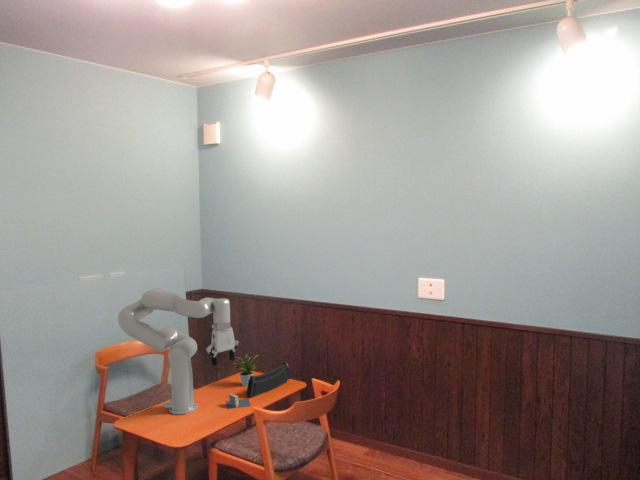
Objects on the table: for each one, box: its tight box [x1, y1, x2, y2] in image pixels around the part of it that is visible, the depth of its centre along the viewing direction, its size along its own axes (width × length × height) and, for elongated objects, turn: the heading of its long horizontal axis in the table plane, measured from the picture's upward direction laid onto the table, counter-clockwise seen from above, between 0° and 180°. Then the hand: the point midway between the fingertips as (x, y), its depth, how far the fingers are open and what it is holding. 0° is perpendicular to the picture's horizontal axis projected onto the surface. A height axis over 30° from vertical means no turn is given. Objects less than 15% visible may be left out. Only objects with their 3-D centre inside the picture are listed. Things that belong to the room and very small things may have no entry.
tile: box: [228, 393, 239, 407], centre depth 230 cm, size 2×5×5 cm, turn 45°
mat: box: [225, 397, 252, 410], centre depth 233 cm, size 11×10×1 cm
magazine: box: [245, 361, 293, 398], centre depth 250 cm, size 17×3×30 cm
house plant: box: [232, 353, 259, 387], centre depth 259 cm, size 14×14×16 cm
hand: (223, 362), depth 226 cm, fingers open, 9 cm apart
